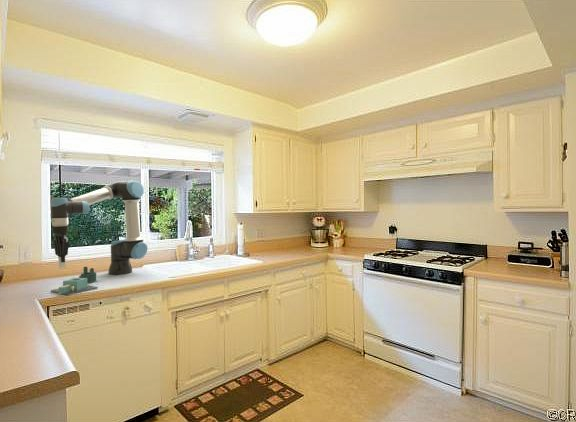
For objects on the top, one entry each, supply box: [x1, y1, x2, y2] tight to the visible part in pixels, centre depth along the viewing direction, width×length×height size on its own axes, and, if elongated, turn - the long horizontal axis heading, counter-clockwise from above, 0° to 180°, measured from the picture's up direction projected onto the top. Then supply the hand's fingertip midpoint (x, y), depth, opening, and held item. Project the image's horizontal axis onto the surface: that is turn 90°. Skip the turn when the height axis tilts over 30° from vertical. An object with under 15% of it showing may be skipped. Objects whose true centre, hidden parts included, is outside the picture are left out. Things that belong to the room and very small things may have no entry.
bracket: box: [78, 266, 97, 284], centre depth 200 cm, size 9×9×9 cm
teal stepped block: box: [58, 277, 88, 294], centre depth 175 cm, size 14×8×5 cm, turn 175°
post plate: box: [50, 284, 98, 296], centre depth 179 cm, size 16×16×5 cm
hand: (62, 267), depth 179 cm, fingers closed
